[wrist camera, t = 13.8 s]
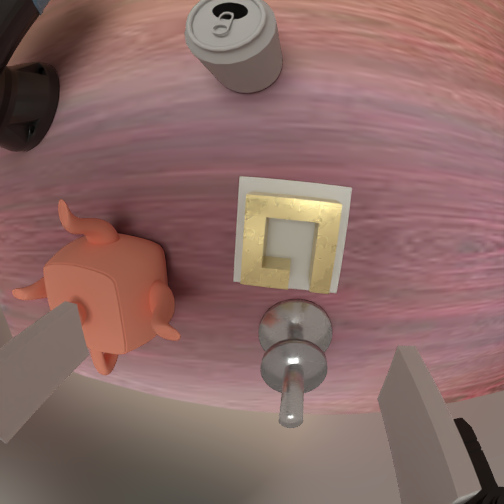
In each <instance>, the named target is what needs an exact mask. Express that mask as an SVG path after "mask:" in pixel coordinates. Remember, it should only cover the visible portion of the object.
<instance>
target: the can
mask: <svg viewBox="0 0 504 504" xmlns="http://www.w3.org/2000/svg"><path fill="white" fill-rule="evenodd" d="M185 39H186V44H187V46H188V47H189V49H190V50H191V52H192V53H193V54H194V55H195V56H196V57H197V58H198V59H199V60H200V61H201V62H202V63H203V65H204V66H205V67H206V68H207V69H208V70H209V71H210V72H211V73H212V74H213V75H214V76H215V77H216V78H217V79H218V80H219V81H220V82H221V83H222V84H223V85H224V86H226V87H227V88H228V89H231V90H233V91H236V92H241V93H251V92H256V91H260V90H262V89H264V88H266V87H268V86H270V85H271V84H272V83H273V82H274V81H275V80H276V79H277V77H278V76H279V74H280V72H281V69H282V61H283V60H282V54H281V47H280V41H279V35H278V29H277V23H276V19H275V16H274V12H273V10H272V9H271V8H270V7H269V6H268V4H267V3H266V2H264V1H262V0H201V1H200V2H198V3H197V4H196V5H195V6H194V7H193V9H192V10H191V12H190V13H189V15H188V18H187V22H186V29H185Z"/></svg>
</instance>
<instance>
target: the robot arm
mask: <svg viewBox="0 0 504 504" xmlns="http://www.w3.org/2000/svg"><path fill="white" fill-rule="evenodd" d="M49 1H50V0H0V147H3V148H5V149H8V150H10V151H15V152H17V151H28V150H30V149H32V148H33V147H35V146H36V145H37V144H38V143H39V142H40V141H41V140H42V138H43V137H44V135H45V134H46V132H47V130H48V128H49V126H50V124H51V122H52V120H53V117H54V114H55V111H56V107H57V102H58V96H59V80H58V75H57V73H56V71H55V69H54V68H53V67H52V66H51V65H49V64H45V63H42V62H30V63H24V64H19V65H14V66H6V65H7V63H8V62H9V60H10V58H11V56H12V55H13V53H14V51H15V50H16V48H17V46H18V45H19V43H20V42H21V40H22V39H23V37H24V36H25V34H26V33H27V31H28V30H29V29H30V27H31V26H32V24H33V23H34V22H35V20H36V19H37V18H38V16H39V15H41V14H42V13H43V9H44V8H45V7H46V5H47V4H48V2H49ZM88 355H89V353H88V349H87V345H86V342H85V338H84V334H83V330H82V325H81V321H80V316H79V312H78V307H77V304H74V303H71V302H67V301H65V302H63V303H62V304H60V305H59V306H57V307H56V308H54V309H53V310H52V311H50V312H49V313H47V314H46V315H44V316H43V317H42V318H40V319H39V320H37V321H36V322H35V323H33V324H32V325H30V326H29V327H28V328H26V329H25V330H24V331H22V332H21V333H20V334H18V335H17V336H16V337H14V338H13V339H12V340H10V341H9V342H8V343H6V344H5V345H4V346H2V347H1V348H0V440H2V441H3V442H4V443H5V444H7V443H8V441H9V440H10V439H11V438H12V437H13V436H14V435H15V433H16V432H17V431H18V430H19V429H20V428H21V427H22V426H23V425H24V423H25V422H26V421H27V420H28V419H29V418H30V417H31V416H32V415H33V413H34V412H35V411H36V410H37V409H38V408H39V407H40V406H41V405H42V404H43V403H44V401H45V400H46V399H47V398H48V397H49V396H50V395H51V394H52V393H53V392H54V391H55V389H57V388H58V387H59V385H60V384H61V383H62V382H63V381H64V380H65V379H66V378H67V377H68V376H69V375H70V374H71V373H72V372H73V371H74V370H75V369H76V368H77V367H78V366H79V365H80V364H81V363H82V362H83V361H84V360H85V359H86V357H87V356H88ZM378 402H379V406H380V409H381V413H382V417H383V421H384V424H385V429H386V433H387V437H388V441H389V445H390V449H391V454H392V458H393V463H394V467H395V472H396V477H397V482H398V487H399V492H400V498H401V503H402V504H504V487H498V485H497V483H496V482H495V479H494V477H493V474H492V471H491V469H490V467H489V464H488V462H487V460H486V457H485V455H484V453H483V451H481V446H480V444H479V442H478V441H477V437H476V435H475V433H474V431H473V429H472V427H471V426H470V425H469V424H468V423H467V422H466V421H465V420H464V419H463V418H457V419H453V418H452V416H451V414H450V412H449V410H448V408H447V406H446V403H445V401H444V399H443V397H442V395H441V393H440V391H439V389H438V388H437V386H436V384H435V382H434V380H433V378H432V376H431V374H430V372H429V370H428V368H427V367H426V365H425V363H424V361H423V359H422V357H421V356H420V354H419V352H418V350H417V349H416V347H415V346H397V349H396V352H395V355H394V358H393V361H392V363H391V366H390V369H389V371H388V374H387V377H386V379H385V382H384V384H383V387H382V389H381V391H380V394H379V396H378Z"/></svg>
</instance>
